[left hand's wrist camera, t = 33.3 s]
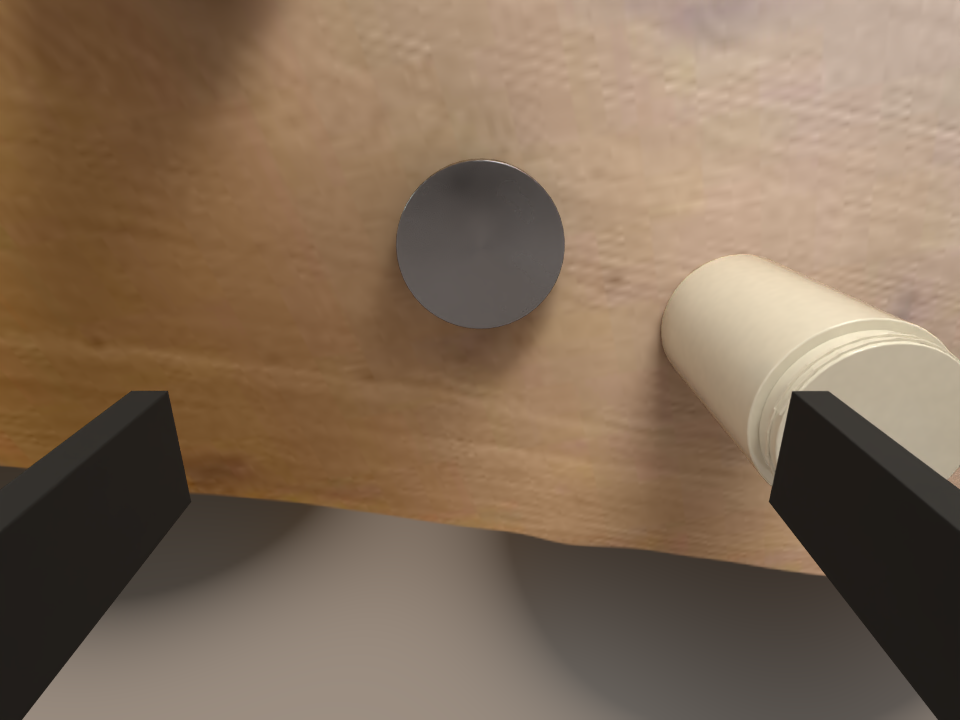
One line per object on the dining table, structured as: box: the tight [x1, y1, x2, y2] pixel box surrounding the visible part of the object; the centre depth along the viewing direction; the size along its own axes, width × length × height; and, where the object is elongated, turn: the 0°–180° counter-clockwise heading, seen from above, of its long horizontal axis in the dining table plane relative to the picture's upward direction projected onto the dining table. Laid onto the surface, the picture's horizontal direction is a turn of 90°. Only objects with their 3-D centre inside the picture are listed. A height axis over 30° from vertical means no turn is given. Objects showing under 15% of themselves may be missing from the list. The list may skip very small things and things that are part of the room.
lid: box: [396, 159, 565, 329], centre depth 36 cm, size 10×10×2 cm
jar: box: [661, 254, 960, 486], centre depth 32 cm, size 9×9×15 cm
